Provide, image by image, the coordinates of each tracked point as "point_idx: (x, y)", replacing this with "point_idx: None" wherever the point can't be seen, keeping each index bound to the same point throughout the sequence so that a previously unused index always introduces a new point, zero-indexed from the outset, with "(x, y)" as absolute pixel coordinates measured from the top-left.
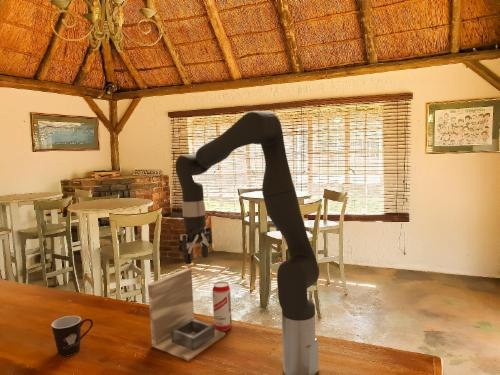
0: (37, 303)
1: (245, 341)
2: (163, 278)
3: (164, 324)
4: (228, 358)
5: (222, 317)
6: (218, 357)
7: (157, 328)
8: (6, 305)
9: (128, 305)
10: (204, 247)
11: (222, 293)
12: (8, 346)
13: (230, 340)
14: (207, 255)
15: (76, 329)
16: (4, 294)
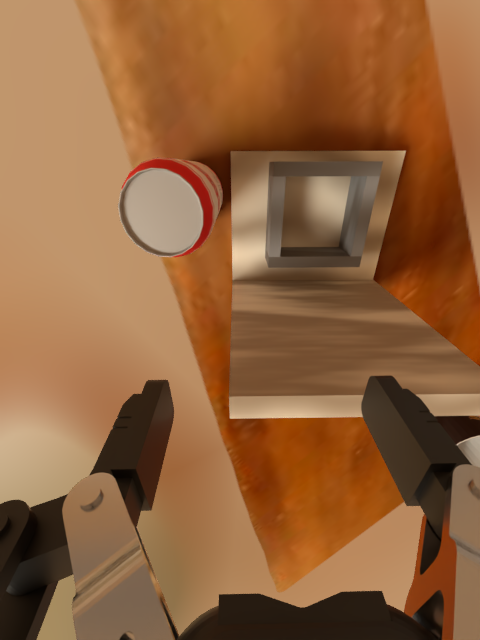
0: (312, 534)
1: (224, 43)
2: None
3: (358, 296)
4: (347, 21)
5: (212, 174)
6: (354, 66)
7: (384, 296)
8: (336, 550)
9: (241, 448)
10: (143, 482)
11: (198, 173)
12: None
13: (246, 107)
14: (151, 388)
15: (471, 424)
16: (310, 571)
